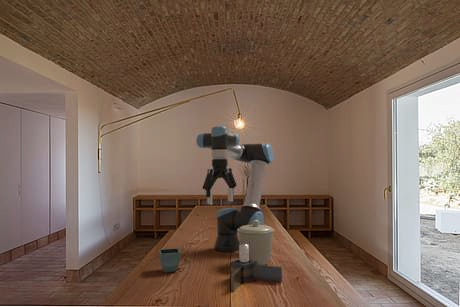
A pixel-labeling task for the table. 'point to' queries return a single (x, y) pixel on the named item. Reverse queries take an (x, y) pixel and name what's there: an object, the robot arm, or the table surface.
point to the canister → (257, 241)
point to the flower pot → (169, 259)
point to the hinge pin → (244, 253)
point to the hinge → (253, 273)
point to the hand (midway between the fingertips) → (220, 202)
